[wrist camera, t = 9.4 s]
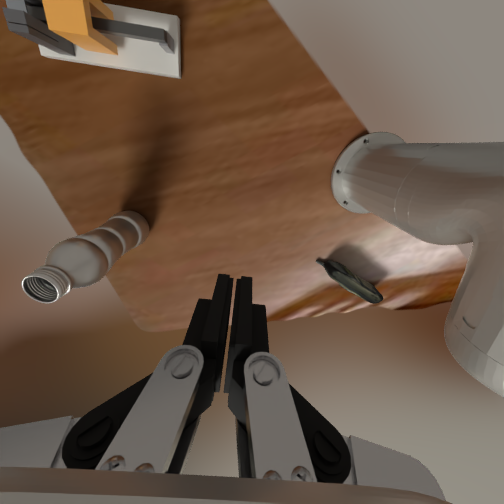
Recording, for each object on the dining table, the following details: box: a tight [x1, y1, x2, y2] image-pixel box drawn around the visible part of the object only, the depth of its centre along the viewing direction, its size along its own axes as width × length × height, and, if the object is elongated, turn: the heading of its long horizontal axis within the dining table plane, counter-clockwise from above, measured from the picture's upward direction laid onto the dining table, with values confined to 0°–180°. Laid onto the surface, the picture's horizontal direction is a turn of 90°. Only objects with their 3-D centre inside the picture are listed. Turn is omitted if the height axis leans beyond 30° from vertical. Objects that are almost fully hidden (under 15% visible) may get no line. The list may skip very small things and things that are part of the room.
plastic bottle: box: [21, 211, 149, 303], centre depth 31 cm, size 6×7×20 cm
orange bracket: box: [42, 0, 118, 55], centre depth 24 cm, size 4×4×6 cm
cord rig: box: [2, 0, 181, 79], centre depth 24 cm, size 18×6×8 cm, turn 83°
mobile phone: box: [316, 260, 383, 303], centre depth 43 cm, size 5×3×15 cm
